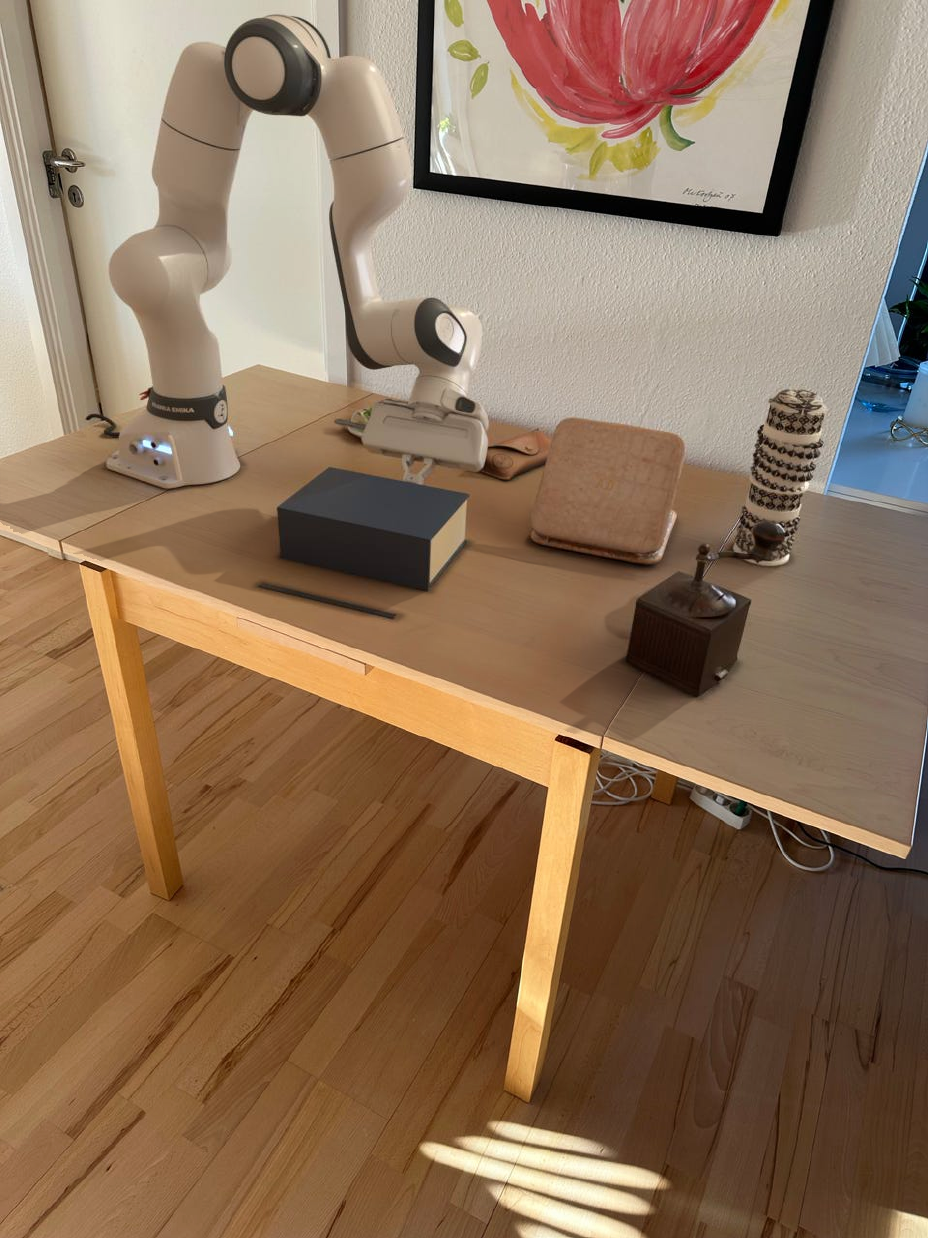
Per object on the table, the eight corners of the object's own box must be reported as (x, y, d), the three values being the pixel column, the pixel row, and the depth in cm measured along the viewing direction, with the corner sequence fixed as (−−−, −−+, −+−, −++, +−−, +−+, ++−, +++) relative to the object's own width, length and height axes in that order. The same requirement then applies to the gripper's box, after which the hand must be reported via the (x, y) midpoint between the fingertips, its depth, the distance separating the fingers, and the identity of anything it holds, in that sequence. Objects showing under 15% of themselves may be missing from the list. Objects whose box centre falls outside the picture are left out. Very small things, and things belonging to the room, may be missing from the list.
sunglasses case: (509, 480, 157) (496, 443, 155) (481, 488, 162) (468, 453, 160) (569, 454, 168) (558, 419, 167) (542, 462, 173) (530, 429, 172)
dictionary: (280, 557, 130) (276, 507, 126) (330, 513, 143) (329, 466, 139) (428, 591, 124) (429, 539, 120) (466, 542, 137) (469, 493, 133)
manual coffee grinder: (702, 701, 106) (734, 567, 96) (622, 662, 112) (645, 532, 102) (761, 648, 116) (795, 522, 106) (685, 615, 122) (711, 493, 112)
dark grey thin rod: (258, 586, 123) (258, 585, 123) (262, 583, 124) (262, 582, 124) (393, 618, 118) (393, 618, 118) (396, 615, 119) (396, 614, 119)
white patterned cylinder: (763, 572, 134) (805, 409, 120) (717, 546, 140) (753, 388, 127) (804, 559, 138) (850, 400, 125) (758, 534, 144) (797, 380, 131)
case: (523, 545, 137) (532, 445, 129) (559, 493, 154) (569, 402, 146) (656, 573, 132) (675, 471, 123) (678, 516, 149) (696, 423, 140)
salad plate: (327, 444, 168) (326, 420, 165) (342, 412, 183) (341, 389, 180) (430, 451, 167) (431, 427, 165) (437, 418, 183) (438, 395, 180)
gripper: (370, 386, 144) (345, 465, 142) (491, 407, 139) (467, 489, 136) (382, 405, 150) (357, 481, 148) (498, 425, 145) (475, 504, 142)
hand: (411, 485), depth 142 cm, fingers closed
